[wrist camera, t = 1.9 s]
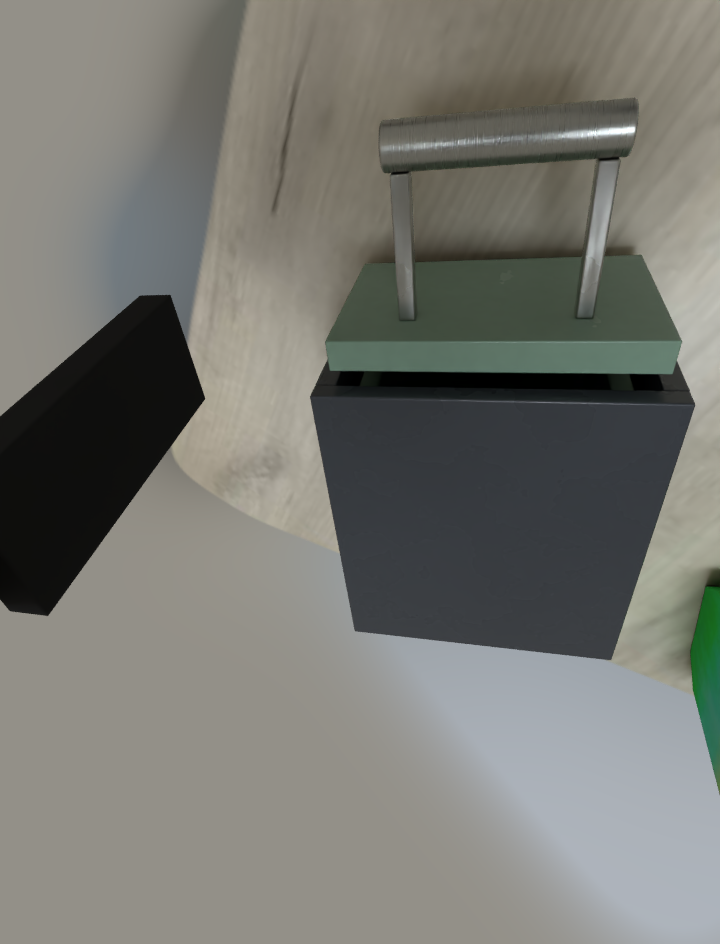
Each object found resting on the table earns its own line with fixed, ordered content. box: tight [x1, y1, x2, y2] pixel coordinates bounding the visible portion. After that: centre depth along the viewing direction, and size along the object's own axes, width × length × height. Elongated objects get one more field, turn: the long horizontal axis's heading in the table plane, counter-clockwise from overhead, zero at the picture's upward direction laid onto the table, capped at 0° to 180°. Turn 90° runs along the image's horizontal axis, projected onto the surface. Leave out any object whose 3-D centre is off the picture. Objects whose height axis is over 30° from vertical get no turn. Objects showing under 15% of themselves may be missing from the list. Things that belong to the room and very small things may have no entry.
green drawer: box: [325, 98, 682, 390], centre depth 23 cm, size 20×11×7 cm, turn 6°
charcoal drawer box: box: [310, 360, 695, 660], centre depth 27 cm, size 15×13×9 cm
